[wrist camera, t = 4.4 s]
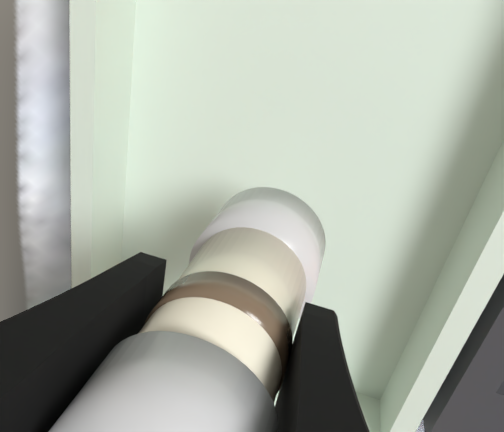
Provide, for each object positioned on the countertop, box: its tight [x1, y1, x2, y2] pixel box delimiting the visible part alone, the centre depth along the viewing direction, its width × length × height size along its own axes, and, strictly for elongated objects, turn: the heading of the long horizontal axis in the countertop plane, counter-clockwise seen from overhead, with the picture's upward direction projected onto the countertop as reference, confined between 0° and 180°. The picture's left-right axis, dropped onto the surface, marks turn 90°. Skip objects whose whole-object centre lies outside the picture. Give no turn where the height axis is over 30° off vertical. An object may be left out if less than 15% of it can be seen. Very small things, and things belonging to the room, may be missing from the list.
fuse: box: [48, 187, 326, 432], centre depth 10 cm, size 3×3×8 cm
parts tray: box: [69, 0, 504, 432], centre depth 15 cm, size 20×14×3 cm
